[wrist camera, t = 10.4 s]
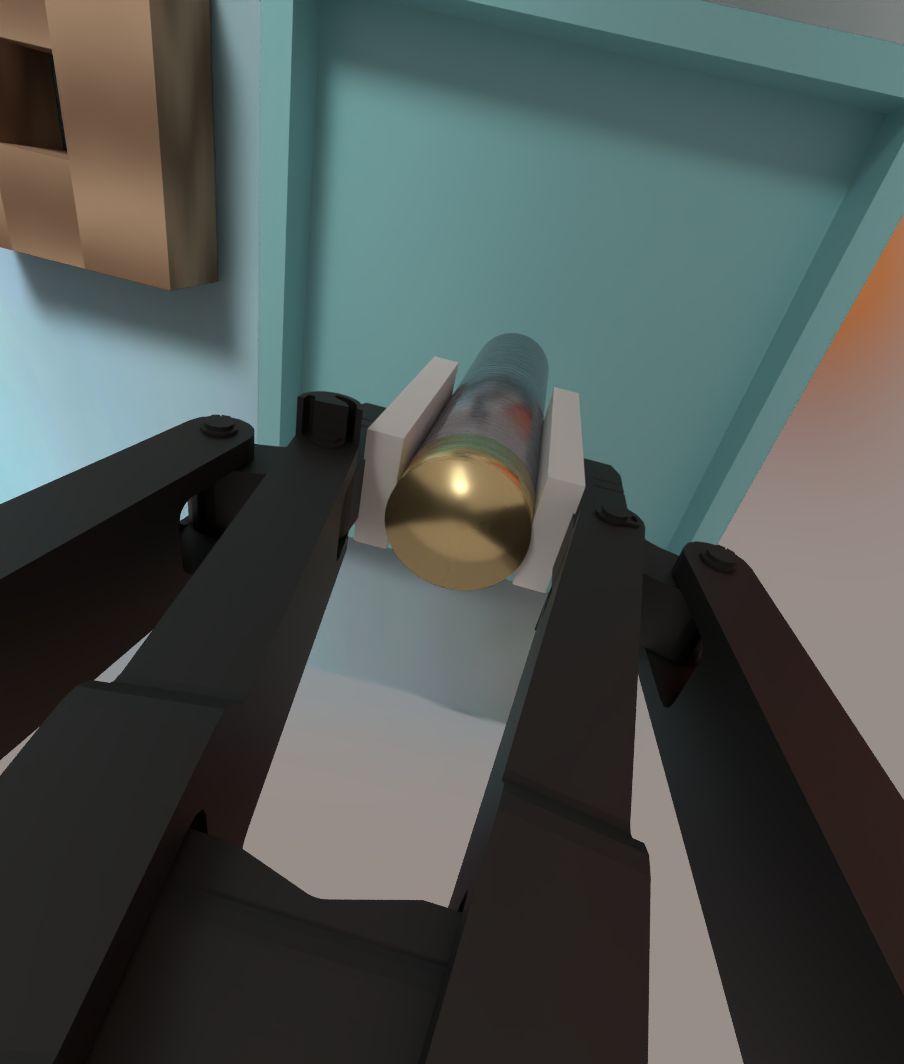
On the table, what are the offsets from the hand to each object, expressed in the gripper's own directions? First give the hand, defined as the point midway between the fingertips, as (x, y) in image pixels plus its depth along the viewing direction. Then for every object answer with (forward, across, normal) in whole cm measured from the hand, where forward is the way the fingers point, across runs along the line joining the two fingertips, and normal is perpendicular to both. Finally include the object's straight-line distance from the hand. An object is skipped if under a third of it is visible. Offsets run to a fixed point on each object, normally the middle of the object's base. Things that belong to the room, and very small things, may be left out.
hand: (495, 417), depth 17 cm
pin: (+6, 0, 0) cm, 6 cm away
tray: (+12, 0, 0) cm, 12 cm away
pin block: (+12, -22, +5) cm, 26 cm away
